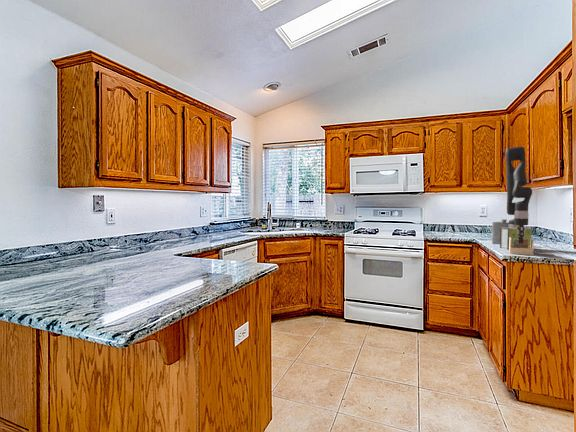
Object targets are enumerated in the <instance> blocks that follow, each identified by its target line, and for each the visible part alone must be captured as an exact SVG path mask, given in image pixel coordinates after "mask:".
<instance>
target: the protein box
mask: <svg viewBox="0 0 576 432" xmlns="http://www.w3.org/2000/svg"><path fill="white" fill-rule="evenodd" d="M524 228H525V231H524V237H523V239H528V246H530V243H531V238H532V228H529V227H527V228H526V227H524ZM509 237H510V238H511V245H514V239H518V234H517V228H500V244H499V248H500V249H503V250H506V251H507V250H508V251H509Z"/></svg>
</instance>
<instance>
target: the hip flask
mask: <svg viewBox="0 0 576 432" xmlns="http://www.w3.org/2000/svg"><path fill="white" fill-rule="evenodd" d="M507 221H508V219H505V218H503V219H501V221H492V222H491V223H492V225H491V226H492V230H491V244H492V245H500V228H509V221H508V222H507Z"/></svg>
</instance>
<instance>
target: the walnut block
mask: <svg viewBox="0 0 576 432" xmlns="http://www.w3.org/2000/svg"><path fill="white" fill-rule="evenodd" d="M514 248H527V249H528V239H523V243H519V239H514Z"/></svg>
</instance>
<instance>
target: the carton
mask: <svg viewBox="0 0 576 432" xmlns="http://www.w3.org/2000/svg"><path fill="white" fill-rule="evenodd" d="M508 252H509V253H508V254H510V255H523V256H524V255H525V256H534V239H533V238H532V237H531V243H530V246H528V249H527V248H514V245H511V238H510V237H509V250H508Z"/></svg>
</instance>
